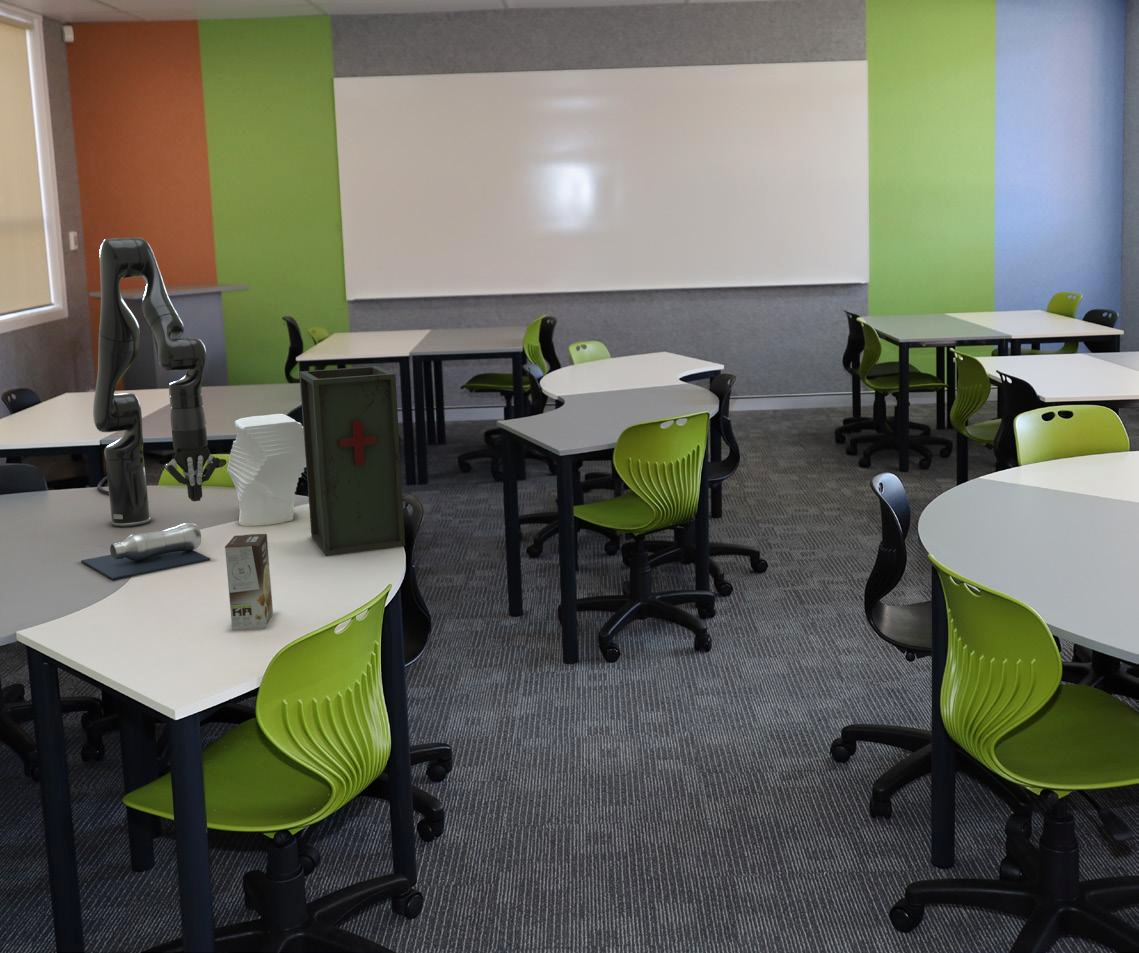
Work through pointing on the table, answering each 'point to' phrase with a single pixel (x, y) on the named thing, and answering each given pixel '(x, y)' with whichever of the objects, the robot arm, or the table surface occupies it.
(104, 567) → the rubber mat
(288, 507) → the paper stack
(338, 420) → the first aid box
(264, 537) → the coffee box
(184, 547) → the silver bottle
